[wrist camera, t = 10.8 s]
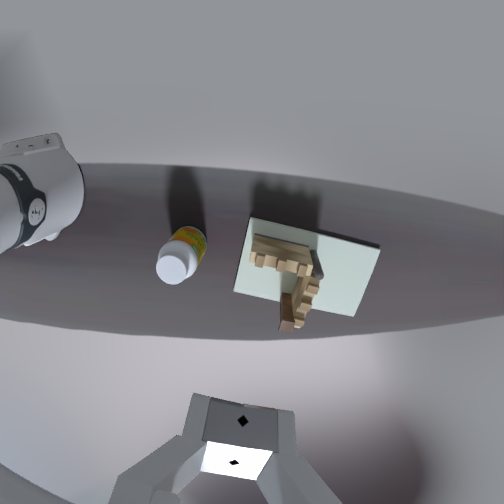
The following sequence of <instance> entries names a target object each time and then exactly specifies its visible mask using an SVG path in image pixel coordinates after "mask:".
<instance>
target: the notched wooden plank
mask: <svg viewBox="0 0 504 504" xmlns="http://www.w3.org/2000/svg"><path fill="white" fill-rule="evenodd" d="M320 282H321V280H316V279H315V276H314V272H313V268H312V271H311V275H310V276H307V275H305V278H304V277H300V276H299V278H298V281H297V283H296V286H295V288H294V291H293V293H292V296H291V300H292V312H293V320H295V325H294V327H296V328H300V327H302V326H303V324H304V322H305V320H304V318H305V316H306V313H307V311H310V309H311V307H312V300H313V298H314V295H315V294H316V295H317V293H318V291H319V289H320V288H319V284H320Z"/></svg>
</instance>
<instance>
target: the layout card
mask: <svg viewBox="0 0 504 504" xmlns="http://www.w3.org/2000/svg"><path fill="white" fill-rule="evenodd" d="M254 235H257V236H262V237H266V238H270V239H275V240H279V241H283V242H287V243H291V244H296V245H300V246H304V247H308V248H309V251H310V250H316V252H317V254H318V258H319V261H320V264H321V267H322V270H323V273H324V278H323V279H322V280H321V282H320V284H319V288H320V289H319V291H318V293H317V295H316V294H315V295H314V298H313V300H312V307H311V308H313V309H318V310H323V311H328V312H333V313H338V314H343V315H348V316H353V317H354V315H355V312H356V310H357V308H358V306H359V303H360V301H361V298H362V296H363V294H364V291H365V289H366V286H367V284H368V281H369V279H370V276H371V274H372V271H373V269H374V266H375V264H376V261H377V258H378V256H379V253H380V249H378V248H374V247H370V246H366V245H363V244H359V243H355V242H351V241H347V240H343V239H339V238H336V237H332V236H328V235H324V234H320V233H316V232H312V231H308V230H304V229H300V228H295V227H291V226H287V225H283V224H279V223H275V222H271V221H266V220H262V219H258V218H253V217H250V221H249V226H248V230H247V234H246V239H245V243H244V247H243V252H242V256H241V260H240V265H239V269H238V274H237V278H236V282H235V287H234V291H235V292H239V293H244V294H248V295H253V296H257V297H261V298H266V299H271V300H275V301H280V298H281V295H282V292H283V293H288V294H291V296H292V293H293V291H294V288H295V286H296V283H297V281H298V278H299V276H297V273H294V272H290V271H285V270H284V273H282V272H278V271H276V268H272V267H268V266H263V268H260V267H256V266H255V263H250V262H249V258H250V253H251V247H252V242H253V238H254Z"/></svg>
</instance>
